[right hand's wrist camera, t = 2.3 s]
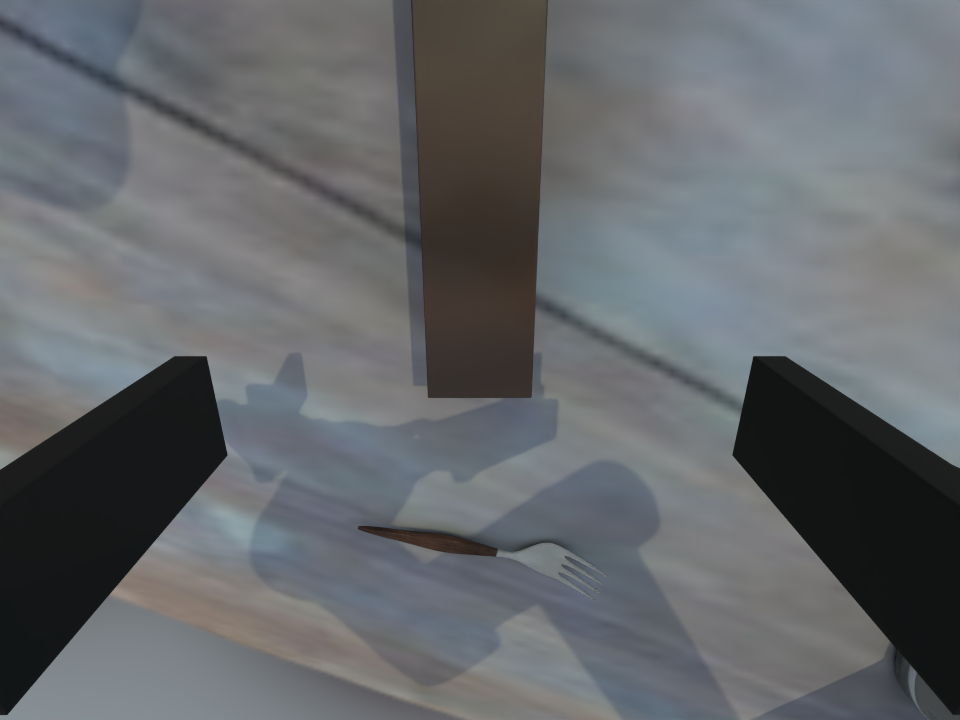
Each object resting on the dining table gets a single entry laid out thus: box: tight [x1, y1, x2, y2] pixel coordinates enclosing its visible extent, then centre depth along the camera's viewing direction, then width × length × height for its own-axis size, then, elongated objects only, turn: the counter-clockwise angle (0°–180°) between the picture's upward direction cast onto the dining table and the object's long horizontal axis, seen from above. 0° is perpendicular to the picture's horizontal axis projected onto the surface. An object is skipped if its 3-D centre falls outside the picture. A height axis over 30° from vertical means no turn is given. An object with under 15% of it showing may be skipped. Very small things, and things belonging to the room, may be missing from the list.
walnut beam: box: [411, 0, 548, 398], centre depth 20 cm, size 30×4×7 cm, turn 0°
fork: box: [358, 526, 607, 602], centre depth 33 cm, size 3×16×2 cm, turn 77°
